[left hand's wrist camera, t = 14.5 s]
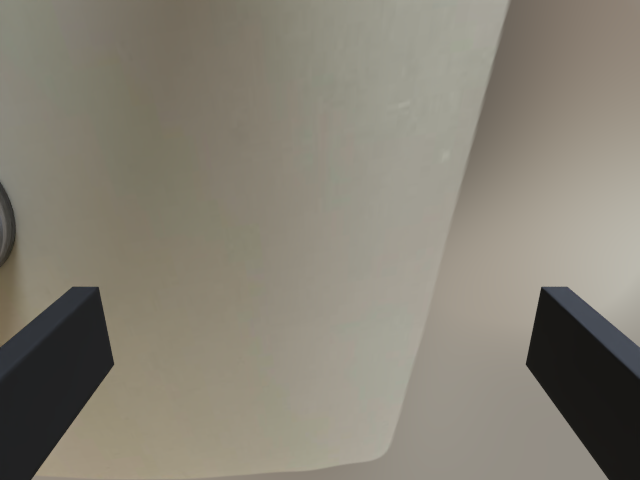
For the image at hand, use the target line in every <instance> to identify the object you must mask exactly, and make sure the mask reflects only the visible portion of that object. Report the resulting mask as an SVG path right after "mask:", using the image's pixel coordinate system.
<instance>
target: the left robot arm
mask: <svg viewBox="0 0 640 480" xmlns="http://www.w3.org/2000/svg"><path fill="white" fill-rule="evenodd" d="M14 239H15V218H14V213H13V209H12V206H11V203H10V200H9V198H8V195H7V193H6V192H5V190H4V188H3V186H2V184H1V183H0V267H1V266H2V265H3V263H4V262H5V261H6V259H7V258H8V256H9V254H10V252H11V250H12V247H13V244H14ZM113 365H114V361H113V356H112V351H111V346H110V341H109V336H108V331H107V326H106V321H105V316H104V311H103V306H102V302H101V297H100V292H99V287H72V288H71V289H70V290H68V291H67V292H66V293H65V294H64V295H62V296H61V297H60V298H59V299H58V300H56V301H55V302H54V303H53V304H52V305H50V306H49V307H48V308H47V309H46V310H44V311H43V312H42V313H41V314H40V315H39V316H37V317H36V318H35V319H34V320H33V321H31V322H30V323H29V324H28V325H27V326H25V327H24V328H23V329H22V330H21V331H19V332H18V333H17V334H16V335H15V336H14V337H12V338H11V339H10V340H9V341H8V342H6V343H5V344H4V345H3V346H2V347H0V480H31V479H32V478H33V476H34V475H35V474H36V472H37V471H38V469H39V468H40V467H41V465H42V464H43V462H44V461H45V460H46V458H47V457H48V456H49V454H50V453H51V451H52V450H53V449H54V447H55V446H56V444H57V443H58V442H59V440H60V439H61V438H62V436H63V435H64V433H65V432H66V431H67V429H68V428H69V426H70V425H71V424H72V422H73V421H74V419H75V418H76V417H77V415H78V414H79V413H80V411H81V410H82V408H83V407H84V406H85V404H86V403H87V401H88V400H89V399H90V397H91V396H92V395H93V393H94V392H95V390H96V389H97V388H98V386H99V385H100V383H101V382H102V381H103V379H104V378H105V377H106V375H107V374H108V372H109V371H110V370H111V368H112V367H113ZM526 365H527V367H528V368H529V370H530V371H531V372H532V374H533V375H534V377H535V378H536V379H537V381H538V382H539V383H540V385H541V386H542V388H543V389H544V390H545V392H546V393H547V395H548V396H549V397H550V399H551V400H552V401H553V403H554V404H555V406H556V407H557V408H558V410H559V411H560V413H561V414H562V415H563V417H564V418H565V419H566V421H567V422H568V423H569V425H570V426H571V428H572V429H573V431H574V432H575V433H576V435H577V436H578V437H579V439H580V440H581V442H582V443H583V444H584V446H585V447H586V449H587V450H588V451H589V453H590V454H591V456H592V457H593V458H594V460H595V461H596V462H597V464H598V465H599V467H600V468H601V469H602V471H603V472H604V474H605V475H606V476H607V478H608V479H609V480H640V347H638V346H637V345H636V344H635V343H634V342H632V341H631V340H630V339H629V338H628V337H626V336H625V335H624V334H623V333H622V332H621V331H619V330H618V329H617V328H616V327H615V326H613V325H612V324H611V323H610V322H609V321H607V320H606V319H605V318H604V317H603V316H601V315H600V314H599V313H598V312H597V311H595V310H594V309H593V308H592V307H591V306H589V305H588V304H587V303H586V302H585V301H584V300H582V299H581V298H580V297H579V296H578V295H576V294H575V293H574V292H573V291H572V290H570V289H569V288H568V287H541V292H540V297H539V302H538V307H537V311H536V316H535V321H534V326H533V331H532V336H531V341H530V346H529V351H528V356H527V361H526Z"/></svg>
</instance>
